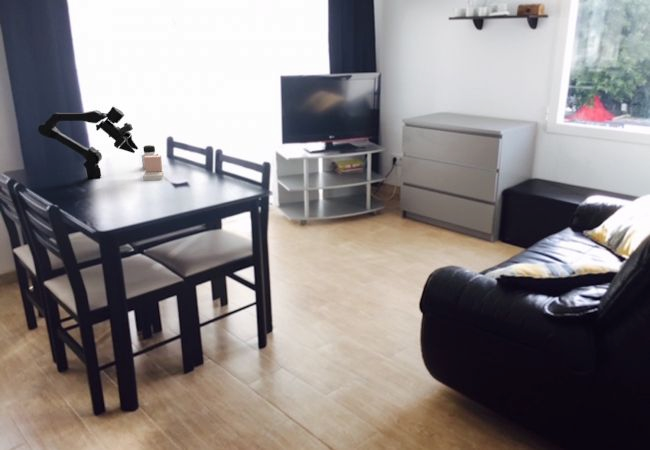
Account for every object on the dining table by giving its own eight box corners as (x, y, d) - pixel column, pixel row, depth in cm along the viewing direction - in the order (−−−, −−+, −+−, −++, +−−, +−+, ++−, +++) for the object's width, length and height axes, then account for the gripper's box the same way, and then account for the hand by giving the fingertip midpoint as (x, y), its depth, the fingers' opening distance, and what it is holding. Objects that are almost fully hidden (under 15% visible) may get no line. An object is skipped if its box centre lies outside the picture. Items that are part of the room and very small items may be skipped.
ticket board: (143, 180, 287) (143, 175, 287) (146, 176, 295) (145, 171, 294) (161, 179, 289) (161, 174, 288) (163, 176, 296) (163, 171, 295)
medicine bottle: (155, 168, 314) (153, 146, 311) (142, 168, 315) (140, 146, 311) (159, 165, 321) (157, 144, 317) (146, 165, 321) (144, 144, 318)
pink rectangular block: (146, 176, 295) (144, 157, 292) (147, 174, 299) (145, 155, 296) (161, 175, 296) (159, 156, 293) (162, 173, 300) (160, 155, 297)
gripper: (117, 121, 278) (143, 142, 283) (125, 116, 295) (148, 136, 300) (103, 137, 279) (128, 158, 284) (111, 131, 296) (135, 151, 301)
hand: (136, 150), depth 292 cm, fingers open, 9 cm apart
